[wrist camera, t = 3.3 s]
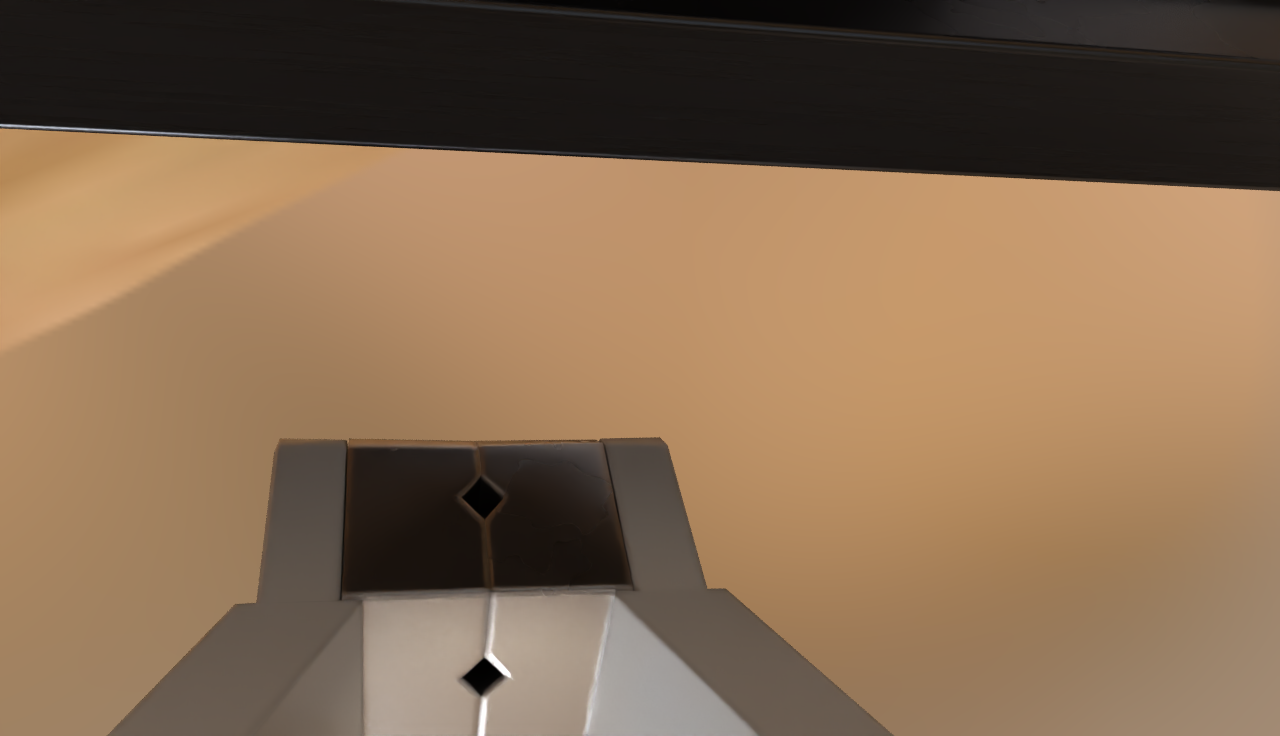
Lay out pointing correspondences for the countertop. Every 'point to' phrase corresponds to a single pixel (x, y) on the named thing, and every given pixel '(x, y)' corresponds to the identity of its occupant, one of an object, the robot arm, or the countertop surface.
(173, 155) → the countertop surface
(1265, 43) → the laptop screen
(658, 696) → the robot arm
